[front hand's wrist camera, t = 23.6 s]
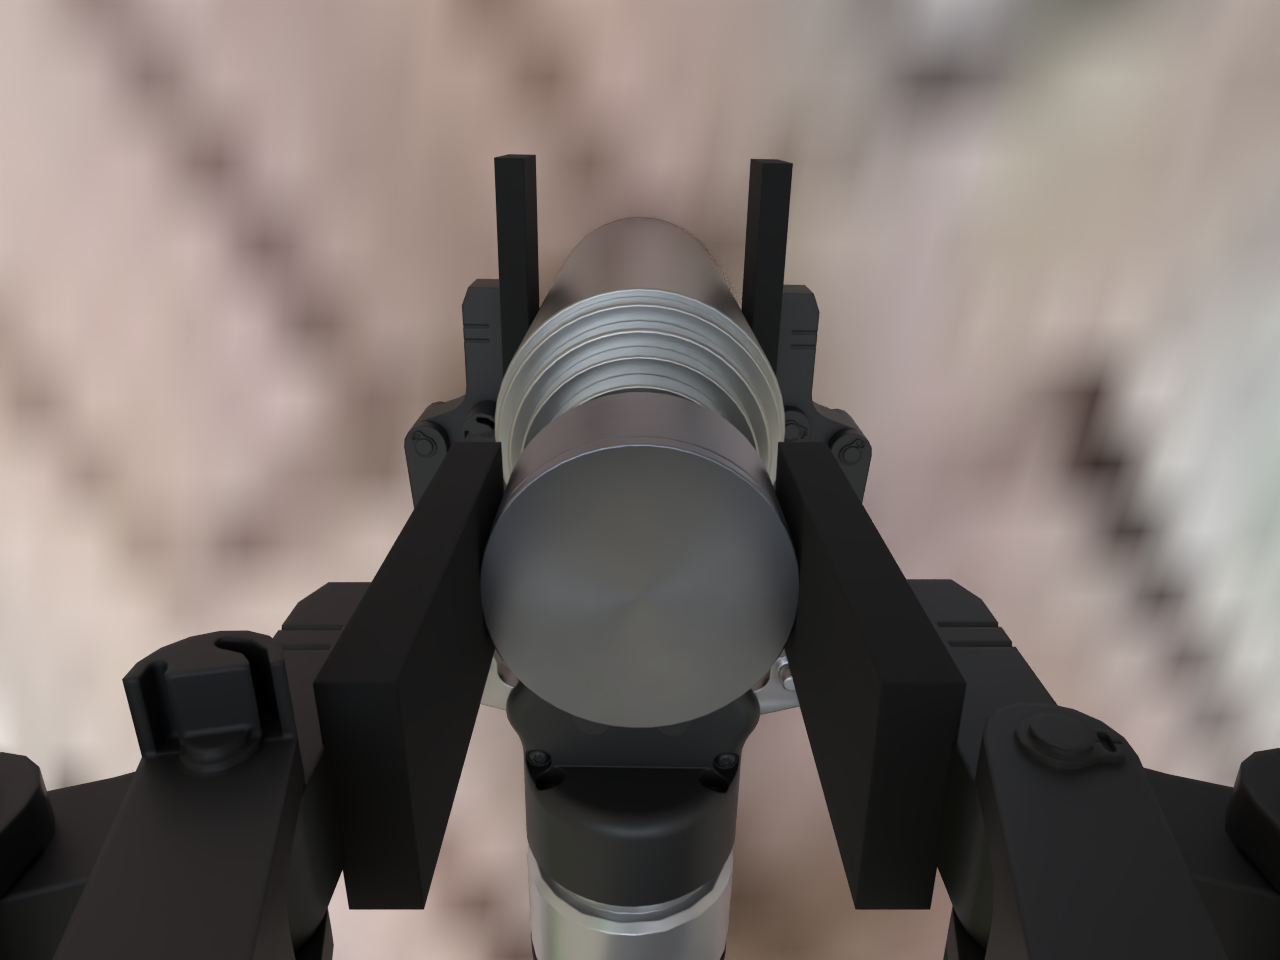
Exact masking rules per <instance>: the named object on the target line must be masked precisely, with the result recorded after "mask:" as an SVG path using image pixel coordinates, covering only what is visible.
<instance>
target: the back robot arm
mask: <svg viewBox="0 0 1280 960" xmlns="http://www.w3.org/2000/svg"><path fill="white" fill-rule="evenodd" d="M494 163H495V188H496V213H497V237H498V262H499V279H476V280H475V281H474V282H473V283H472V284H471V285H470V286H469V287H468V290H467V292H466V295H465V298H464V301H463V304H462V313H463V325H464V327H463V331H464V349H465V367H466V384H467V389H466V394H465V395H464V396H461V397H459V398H457V399H454V400H451V401H448V402H436V403H432V404H431V405H430V406H428V407H427V408H426V409H425V411H424V412H423V413H422V415H421V416H420V417H419V419H418V420H417V421H416V423H415V424H414V425H413V427H412V428H411V429H410V431H409V432H408V434H407V436H406V438H405V443H404V448H405V454H406V460H407V467H408V473H409V479H410V485H411V492H412V498H413V504H414V509H415V507H416V505H417V504H418V502H419V500H420V499H421V497H422V495H423V493H424V492H425V490H426V488H427V487H428V485H429V483H430V481H431V480H432V478H433V476H434V475H435V473H436V471H437V469H438V468H439V466H440V464H441V463H442V461H443V459H444V457H445V456H446V454H447V452H448V451H449V449H450V447H451V445H452V444H453V442H496V440H495V412H496V404H497V398H498V394H499V391H500V387H501V383H502V380H503V378H504V376H505V374H506V371H507V369H508V367H509V364H510V363H511V361H512V359H513V357H514V355H515V353H516V351H517V350H518V348H519V346H520V344H521V342H522V340H523V339H524V337H525V335H526V333H527V331H528V329H529V328H530V326H531V324H532V322H533V320H534V318H535V317H536V315H537V313H538V311H539V274H538V232H537V191H536V155H515V154H508V155H504V156H500V157H495V158H494ZM792 166H793V163H789V162H785V161H781V160H774V159H751V164H750V180H749V196H748V213H747V229H746V245H745V262H744V278H743V294H742V313H743V315H744V317H745V319H746V321H747V322H748V324H749V326H750V328H751V330H752V332H753V333H754V335H755V337H756V339H757V341H758V343H759V344H760V346H761V348H762V350H763V352H764V354H765V356H766V357H767V359H768V361H769V363H770V365H771V368H772V370H773V372H774V374H775V376H776V378H777V382H778V385H779V388H780V391H781V395H782V400H783V406H784V412H785V437H784V442H826V443H827V445H828V447H829V448H830V450H831V452H832V453H833V455H834V457H835V458H836V460H837V462H838V464H839V465H840V467H841V469H842V470H843V472H844V474H845V476H846V477H847V479H848V481H849V482H850V484H851V486H852V488H853V489H854V491H855V493H856V494H857V496H858V498H859V500H860V501H861V503H862V501H863V496H864V491H865V486H866V481H867V476H868V471H869V466H870V461H871V456H872V448H871V446H870V443H869V441H868V440H867V438H866V437H865V436H864V434H863V433H862V431H861V430H860V429H859V427H858V426H857V425H856V423H855V422H854V420H853V419H852V418H851V416H850V415H849V414H848V413H846V412H845V411H843V410H840V409H829V408H827V407H824V406H821V405H819V404H817V403H815V402H813V401H812V385H813V374H814V363H815V353H816V342H817V331H818V321H819V310H818V306H817V303H816V300H815V296H814V294H813V293H812V292H811V291H810V290H809V289H808V288H807V287H806V286H805V285H783V281H784V269H785V256H786V243H787V230H788V217H789V204H790V192H791V179H792ZM775 485H776V480H775V483H774V485H773V487H774V490H775ZM506 487H507V486H506V484H505V481H504V492H505V489H506ZM480 704H483V705H487V706H491V707H495V708H499V709H503V710H506V712H507V717H508V720H509V722H510V724H511V725H512V727H513V728H514V729H515V731H516V732H517V734H518V735H519V737H520V739H521V742H522V745H523V750H524V773H525V800H526V827H527V839H528V843H529V848H528V854H527V860H528V879H529V897H530V915H531V942H532V952H533V960H724V958H725V951H726V939H727V934H728V928H729V914H730V901H731V887H732V874H733V844H734V839H735V830H736V816H737V803H738V789H739V776H740V763H741V752H742V748H743V745H744V743H745V741H746V739H747V738H748V736H749V735H750V734H751V732H752V731H753V730H754V729H755V727H756V725H757V723H758V721H759V717H760V715H762V714H766V713H771V712H776V711H780V710H785V709H789V708H794V707H799V706H800V705H799V701H798V698H797V694H796V690H795V687H794V683H793V679H792V676H791V672H790V668H789V665H788V661H787V657H786V654H785V650H783V651H782V653H781V655H780V656H779V658H778V659H777V661H776V662H775V663H774V665H773V666H772V667H771V669H770V670H769V671H768V672H767V673H766V674H765V675H764V677H763V678H762V679H761V680H760V681H759V682H758V683H757V684H756V685H754V686H753V687H752V688H751V689H750V690H748V691H747V692H746V693H745V694H744V695H742V696H741V697H739V698H738V699H736V700H735V701H733V702H731V703H730V704H728V705H727V706H725V707H723V708H721V709H719V710H717V711H715V712H713V713H711V714H708V715H706V716H703V717H700V718H697V719H694V720H691V721H688V722H683V723H679V724H675V725H670V726H662V727H653V728H628V727H617V726H610V725H605V724H600V723H595V722H592V721H589V720H585V719H582V718H579V717H576V716H574V715H571V714H569V713H567V712H565V711H563V710H560V709H558V708H556V707H555V706H553V705H551V704H550V703H548V702H546V701H545V700H543V699H541V698H540V697H539V696H537V695H536V694H535V693H534V692H532V691H531V690H530V689H528V688H527V687H526V686H525V685H524V684H523V683H522V682H521V681H520V680H519V679H518V678H517V677H516V676H515V675H514V674H513V673H512V672H511V671H510V669H509V668H508V667H507V666H506V665H505V663H504V662H503V660H502V659H501V657H500V656H499V654H498V652H497V650H496V649H495V652H494V655H493V659H492V663H491V666H490V670H489V674H488V677H487V681H486V685H485V688H484V692H483V696H482V699H481V703H480Z"/></svg>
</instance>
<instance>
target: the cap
mask: <svg viewBox="0 0 1280 960" xmlns="http://www.w3.org/2000/svg"><path fill="white" fill-rule="evenodd" d="M479 575H480V590H481V603H482V615H483V621H484V624H485V627H486V629H487V632H488V634H489V637H490V639H491V642H492V643H493V645H494V647H495V649H496V650H497V652H498V654H499V656H500V657H501V659H502V660H503V661H504V663H505V664H506V665H507V667H508V668H509V669H510V671H511V672H512V673H513V674H514V675H515V676H516V677H517V678H518V679H519V680H520V681H521V682H522V683H523V684H524V685H525V686H526V687H527V688H528V689H530V690H531V691H532V692H534V693H535V694H536V695H537V696H539V697H540V698H541V699H543V700H545V701H546V702H548V703H550V704H551V705H553V706H555V707H556V708H558V709H560V710H563V711H565V712H567V713H569V714H571V715H574V716H576V717H579V718H582V719H585V720H589V721H592V722H595V723H600V724H605V725H610V726H617V727H628V728H653V727H662V726H670V725H675V724H679V723H683V722H688V721H691V720H694V719H697V718H700V717H703V716H706V715H708V714H711V713H713V712H715V711H717V710H719V709H721V708H723V707H725V706H727V705H728V704H730V703H731V702H733V701H735V700H736V699H738V698H739V697H741V696H742V695H744V694H745V693H746V692H747V691H748V690H750V689H751V688H752V687H753V686H754V685H756V684H757V683H758V682H759V681H760V680H761V679H762V678H763V677H764V675H765V674H766V673H767V672H768V671H769V670H770V669H771V667H772V666H773V665H774V663H775V662H776V661H777V659H778V658H779V656H780V655H781V653H782V651H783V650H784V648H785V646H786V644H787V642H788V640H789V638H790V636H791V633H792V631H793V628H794V625H795V622H796V618H797V608H798V596H799V581H800V564H799V560H798V556H797V552H796V548H795V544H794V542H793V539H792V536H791V533H790V531H789V528H788V525H787V523H786V520H785V517H784V514H783V512H782V509H781V506H780V504H779V501H778V498H777V495H776V493H775V490H774V487H773V485H772V482H771V479H770V477H769V474H768V472H767V469H766V467H765V465H764V463H763V461H762V460H761V458H760V456H759V455H758V453H757V451H756V450H755V449H754V447H753V446H752V445H751V444H750V442H749V441H748V440H747V438H746V437H745V436H744V435H743V434H742V433H741V432H740V431H739V430H737V429H736V428H735V427H734V426H733V425H732V424H731V423H729V422H728V421H727V420H725V419H724V418H723V417H721V416H720V415H718V414H717V413H715V412H713V411H711V410H709V409H708V408H706V407H704V406H702V405H700V404H697V403H694V402H692V401H689V400H687V399H684V398H680V397H676V396H671V395H667V394H660V393H651V392H627V393H620V394H613V395H607V396H604V397H600V398H596V399H593V400H590V401H588V402H585V403H583V404H580V405H578V406H576V407H573V408H572V409H570V410H568V411H567V412H565V413H563V414H561V415H560V416H558V417H557V418H555V419H554V420H553V421H552V422H550V423H549V424H548V425H546V426H545V427H544V428H543V429H542V430H541V431H540V432H539V433H538V434H537V435H536V436H535V437H534V438H533V439H532V440H531V441H530V443H529V444H528V445H527V447H526V448H525V450H524V451H523V452H522V454H521V455H520V457H519V459H518V461H517V463H516V464H515V466H514V468H513V470H512V473H511V476H510V478H509V481H508V484H507V487H506V489H505V492H504V495H503V497H502V500H501V503H500V506H499V508H498V511H497V514H496V516H495V519H494V522H493V525H492V527H491V530H490V533H489V535H488V538H487V541H486V544H485V546H484V549H483V553H482V558H481V563H480V567H479Z"/></svg>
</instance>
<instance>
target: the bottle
mask: <svg viewBox="0 0 1280 960" xmlns="http://www.w3.org/2000/svg"><path fill="white" fill-rule="evenodd" d="M627 392H651V393H660V394H667V395H671V396H676V397H680V398H684V399H687V400H689V401H692V402H694V403H697V404H700V405H702V406H704V407H706V408H708V409H709V410H711V411H713V412H715V413H717V414H718V415H720V416H721V417H723V418H724V419H725V420H727V421H728V422H729V423H731V424H732V425H733V426H734V427H735V428H736V429H737V430H739V431H740V432H741V433H742V434H743V435H744V436H745V437H746V438H747V440H748V441H749V442H750V444H751V445H752V446H753V447H754V449H755V450H756V451H757V453H758V455H759V456H760V458H761V460H762V461H763V463H764V465H765V467H766V469H767V472H768V474H769V477H770V479H771V482H772V485H774V483H775V480H776V468H777V452H778V442H784V437H785V412H784V406H783V400H782V395H781V391H780V388H779V385H778V382H777V378H776V376H775V374H774V372H773V370H772V368H771V365H770V363H769V361H768V359H767V357H766V356H765V354H764V352H763V350H762V348H761V346H760V344H759V343H758V341H757V339H756V337H755V335H754V333H753V332H752V330H751V328H750V326H749V324H748V322H747V321H746V319H745V317H744V315H743V313H742V311H741V309H740V308H739V306H738V304H737V302H736V300H735V298H734V297H733V295H732V293H731V291H730V289H729V287H728V285H727V284H726V282H725V280H724V278H723V276H722V274H721V273H720V271H719V269H718V267H717V265H716V263H715V261H714V260H713V258H712V257H711V255H710V254H709V252H708V251H707V250H706V249H705V247H704V246H703V245H702V244H701V243H700V242H699V241H698V240H697V239H696V238H695V237H693V236H692V235H691V234H689V233H688V232H686V231H685V230H684V229H682V228H680V227H678V226H676V225H674V224H671V223H668V222H665V221H662V220H658V219H653V218H640V217H638V218H627V219H622V220H618V221H614V222H612V223H609V224H606V225H604V226H602V227H600V228H598V229H597V230H595V231H593V232H592V233H591V234H589V235H588V236H586V237H585V238H584V239H583V240H582V241H581V242H580V243H579V244H578V245H577V246H576V247H575V249H574V250H573V251H572V252H571V253H570V255H569V257H568V258H567V260H566V262H565V263H564V265H563V267H562V269H561V271H560V272H559V274H558V276H557V278H556V280H555V282H554V283H553V285H552V287H551V289H550V291H549V293H548V295H547V296H546V298H545V300H544V302H543V304H542V306H541V307H540V309H539V311H538V313H537V315H536V317H535V318H534V320H533V322H532V324H531V326H530V328H529V329H528V331H527V333H526V335H525V337H524V339H523V340H522V342H521V344H520V346H519V348H518V350H517V351H516V353H515V355H514V357H513V359H512V361H511V363H510V364H509V367H508V369H507V371H506V374H505V376H504V378H503V380H502V383H501V387H500V391H499V394H498V398H497V404H496V412H495V440H496V442H501V445H502V462H503V478H504V481H505V484H506V486H507V484H508V481H509V478H510V476H511V473H512V470H513V468H514V466H515V464H516V463H517V461H518V459H519V457H520V455H521V454H522V452H523V451H524V450H525V448H526V447H527V445H528V444H529V443H530V441H531V440H532V439H533V438H534V437H535V436H536V435H537V434H538V433H539V432H540V431H541V430H542V429H543V428H544V427H545V426H546V425H548V424H549V423H550V422H552V421H553V420H554V419H555V418H557V417H558V416H560V415H561V414H563V413H565V412H567V411H568V410H570V409H572V408H573V407H576V406H578V405H580V404H583V403H585V402H588V401H590V400H593V399H596V398H600V397H604V396H607V395H613V394H620V393H627Z"/></svg>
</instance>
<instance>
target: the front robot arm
mask: <svg viewBox="0 0 1280 960" xmlns="http://www.w3.org/2000/svg"><path fill="white" fill-rule="evenodd" d="M775 493H776V495H777V498H778V501H779V504H780V506H781V509H782V512H783V514H784V517H785V520H786V523H787V525H788V528H789V531H790V533H791V536H792V539H793V542H794V544H795V548H796V552H797V556H798V560H799V564H800V581H799V596H798V608H797V618H796V622H795V625H794V628H793V631H792V633H791V636H790V638H789V640H788V642H787V644H786V646H785V648H784V650H785V654H786V657H787V661H788V665H789V668H790V672H791V676H792V679H793V683H794V687H795V690H796V694H797V698H798V701H799V705H800V708H801V712H802V716H803V719H804V723H805V727H806V730H807V734H808V738H809V741H810V745H811V749H812V752H813V756H814V760H815V763H816V767H817V770H818V774H819V778H820V781H821V785H822V789H823V792H824V796H825V800H826V803H827V807H828V811H829V814H830V818H831V822H832V825H833V829H834V832H835V836H836V840H837V843H838V847H839V851H840V854H841V858H842V862H843V865H844V869H845V873H846V876H847V880H848V884H849V887H850V891H851V894H852V898H853V902H854V905H855V909H930V907H931V901H932V895H933V889H934V882H935V876H936V870H937V867H938V869H939V872H940V874H941V877H942V879H943V882H944V884H945V887H946V889H947V892H948V894H949V897H950V899H951V902H952V904H953V907H952V912H951V918H950V924H949V930H948V935H947V941H946V947H945V953H944V958H943V960H1280V748H1276V749H1270V750H1264V751H1258V752H1254V753H1253V754H1252V755H1250V756H1249V757H1248V758H1247V759H1245V760H1244V761H1243V762H1242V763H1241V765H1240V769H1239V772H1238V775H1237V778H1236V781H1235V785H1234V788H1233V787H1228V786H1223V785H1218V784H1214V783H1209V782H1204V781H1199V780H1194V779H1189V778H1184V777H1180V776H1175V775H1170V774H1165V773H1162V772H1158V771H1154V770H1151V769H1147V768H1143V766H1142V764H1141V761H1140V759H1139V757H1138V755H1137V754H1136V753H1135V751H1134V750H1133V749H1132V747H1131V746H1130V745H1129V743H1128V742H1127V741H1126V739H1125V738H1124V737H1123V736H1121V735H1120V734H1119V733H1117V732H1116V731H1114V730H1113V729H1112V728H1110V727H1109V726H1107V725H1106V724H1105V723H1103V722H1102V721H1100V720H1097V719H1095V718H1093V717H1090V716H1088V715H1086V714H1084V713H1081V712H1079V711H1077V710H1074V709H1070V708H1066V707H1061V706H1058V705H1057V704H1056V703H1055V701H1054V700H1053V698H1052V697H1051V696H1050V694H1049V693H1048V691H1047V690H1046V689H1045V687H1044V686H1043V684H1042V683H1041V682H1040V680H1039V679H1038V677H1037V676H1036V675H1035V673H1034V672H1033V671H1032V669H1031V668H1030V666H1029V665H1028V664H1027V662H1026V661H1025V659H1024V658H1023V657H1022V655H1021V654H1020V652H1019V651H1018V650H1017V648H1016V647H1012V641H1011V640H1010V638H1009V637H1008V636H1007V634H1006V633H1005V632H1004V630H1003V629H1002V627H998V622H997V620H996V619H995V618H994V616H993V615H992V613H991V612H990V611H989V609H988V608H987V606H986V605H985V604H984V602H983V601H982V599H980V598H979V597H977V596H976V595H974V594H972V593H971V592H969V591H968V590H966V589H965V588H963V587H962V586H960V585H959V584H957V583H956V582H954V581H953V580H951V579H906V578H905V577H904V575H903V573H902V572H901V570H900V568H899V566H898V565H897V563H896V561H895V560H894V558H893V556H892V554H891V553H890V551H889V549H888V548H887V546H886V544H885V542H884V541H883V539H882V537H881V536H880V534H879V532H878V530H877V529H876V527H875V525H874V524H873V522H872V520H871V518H870V517H869V515H868V513H867V512H866V510H865V508H864V506H863V505H862V503H861V501H860V500H859V498H858V496H857V494H856V493H855V491H854V489H853V488H852V486H851V484H850V482H849V481H848V479H847V477H846V476H845V474H844V472H843V470H842V469H841V467H840V465H839V464H838V462H837V460H836V458H835V457H834V455H833V453H832V452H831V450H830V448H829V447H828V445H827V443H826V442H778V452H777V468H776V485H775ZM503 495H504V478H503V462H502V445H501V442H453V444H452V445H451V447H450V449H449V451H448V452H447V454H446V456H445V457H444V459H443V461H442V463H441V464H440V466H439V468H438V469H437V471H436V473H435V475H434V476H433V478H432V480H431V481H430V483H429V485H428V487H427V488H426V490H425V492H424V493H423V495H422V497H421V499H420V500H419V502H418V504H417V505H416V507H415V509H414V511H413V512H412V514H411V516H410V517H409V519H408V521H407V523H406V524H405V526H404V528H403V529H402V531H401V533H400V535H399V536H398V538H397V540H396V541H395V543H394V545H393V546H392V548H391V550H390V552H389V553H388V555H387V557H386V558H385V560H384V562H383V564H382V565H381V567H380V569H379V570H378V572H377V574H376V576H375V577H374V579H373V581H372V582H328V583H327V584H325V585H324V586H322V587H321V588H319V589H318V590H316V591H315V592H313V593H312V594H310V595H309V596H307V597H306V598H304V599H303V600H301V601H300V602H298V604H297V605H296V606H295V608H294V609H293V611H292V612H291V613H290V615H289V616H288V618H287V619H286V620H285V622H284V623H283V625H282V630H278V632H277V633H276V634H275V636H274V637H273V638H271V637H270V636H268V635H264V634H260V633H255V632H251V631H218V632H212V633H207V634H202V635H197V636H192V637H188V638H186V639H183V640H181V641H178V642H175V643H173V644H170V645H167V646H165V647H162V648H160V649H158V650H157V651H155V652H154V653H152V654H150V655H149V656H147V657H145V658H144V659H142V660H141V661H139V662H137V663H136V664H135V666H134V667H133V668H132V669H131V670H130V671H129V672H128V674H127V675H126V676H125V677H124V678H123V679H122V680H123V684H124V688H125V692H126V696H127V700H128V704H129V708H130V712H131V715H132V719H133V723H134V727H135V731H136V735H137V739H138V743H139V747H140V751H141V754H142V759H141V761H140V763H139V765H138V768H137V770H136V772H132V773H129V774H125V775H121V776H118V777H114V778H109V779H104V780H100V781H95V782H90V783H85V784H80V785H76V786H71V787H66V788H61V789H56V790H51V791H47V790H46V787H45V784H44V781H43V777H42V774H41V771H40V768H39V766H37V765H36V764H35V763H34V762H33V761H31V760H30V759H29V758H28V757H26V756H22V755H16V754H10V753H4V752H0V960H332V956H333V947H334V944H333V937H332V930H331V924H330V918H329V912H328V905H329V903H330V900H331V898H332V895H333V893H334V890H335V887H336V885H337V882H338V880H339V877H340V875H341V872H342V870H343V874H344V880H345V886H346V892H347V898H348V904H349V909H424V907H425V903H426V900H427V896H428V892H429V889H430V885H431V881H432V878H433V874H434V871H435V867H436V863H437V860H438V856H439V852H440V849H441V845H442V841H443V838H444V834H445V830H446V827H447V823H448V819H449V816H450V812H451V809H452V805H453V801H454V798H455V794H456V790H457V787H458V783H459V779H460V776H461V772H462V768H463V765H464V761H465V757H466V754H467V750H468V747H469V743H470V739H471V736H472V732H473V728H474V725H475V721H476V717H477V714H478V710H479V706H480V703H481V699H482V696H483V692H484V688H485V685H486V681H487V677H488V674H489V670H490V666H491V663H492V659H493V655H494V652H495V647H494V645H493V643H492V642H491V639H490V637H489V634H488V632H487V629H486V627H485V624H484V621H483V615H482V603H481V590H480V575H479V567H480V563H481V558H482V553H483V549H484V546H485V544H486V541H487V538H488V535H489V533H490V530H491V527H492V525H493V522H494V519H495V516H496V514H497V511H498V508H499V506H500V503H501V500H502V497H503Z"/></svg>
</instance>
